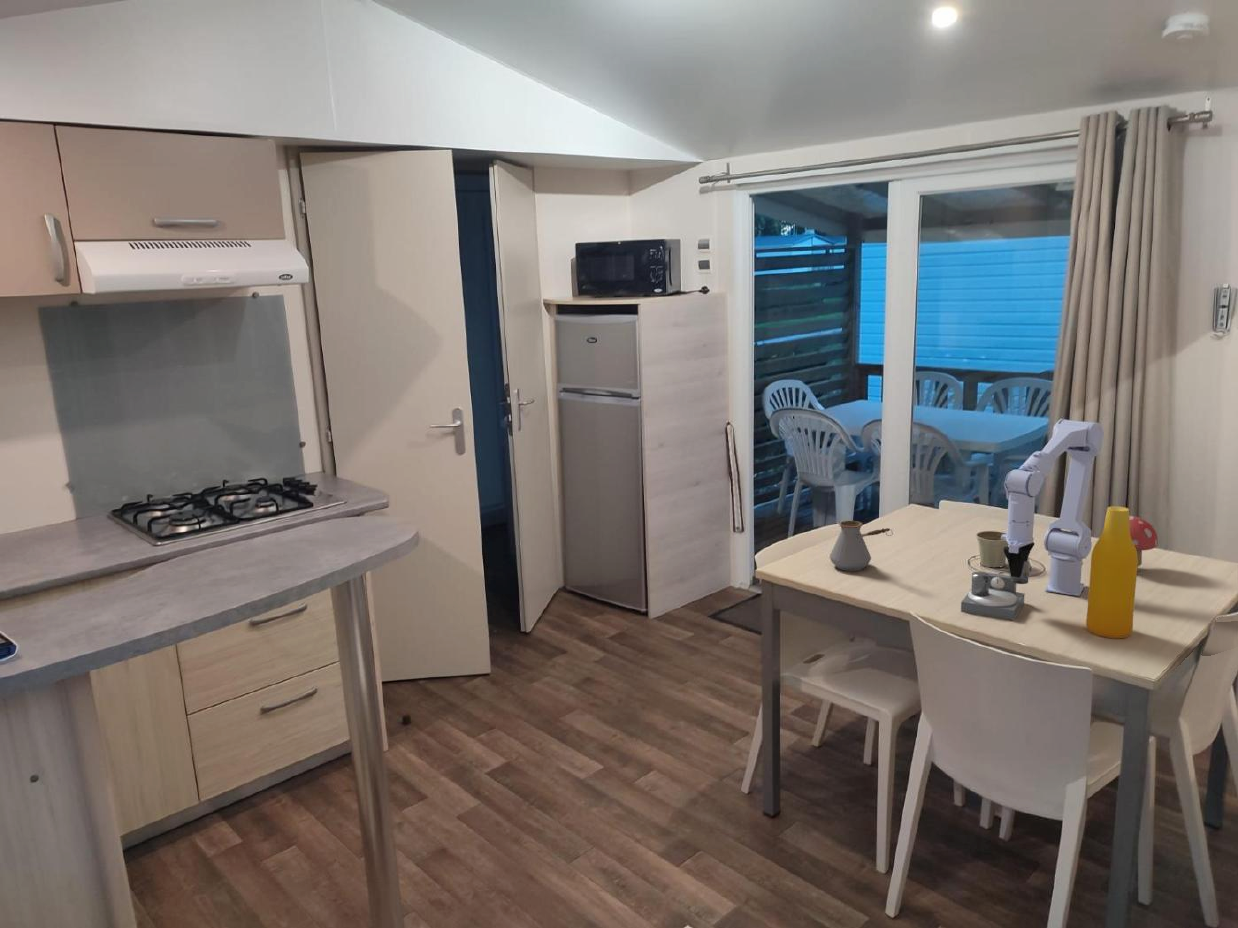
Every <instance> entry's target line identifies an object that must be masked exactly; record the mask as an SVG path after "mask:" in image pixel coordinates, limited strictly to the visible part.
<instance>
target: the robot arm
mask: <svg viewBox="0 0 1238 928" xmlns="http://www.w3.org/2000/svg"><path fill="white" fill-rule="evenodd" d="M1103 440H1104V430H1103V427H1102V425H1101V424H1100V423H1099V422H1090V421H1081V420H1080V421H1079V420H1072V419H1071V420H1070V419H1065V418H1060V419H1059V420H1058V421H1057V422H1056V423H1055V424H1054V426H1053V428H1052V436H1051V438H1050V439H1049V441H1048V442H1047V444H1046V445H1045V446H1044V447H1043V448H1042V450H1040V451H1039V450H1037V451H1035V452H1033V453H1032V454H1031V455H1030V456H1029V457H1028V458H1027V459H1026V460H1025V462H1023V464H1021V465H1020V467H1019V468H1018V469H1016V468H1015V469H1012V470H1011V471H1009V472H1008V473H1007V474H1006V476H1005V478H1004V479H1005V480H1004V482H1003V485H1004V490H1005V492H1006V497H1005V498H1006V500H1008V504H1007V505H1008V506H1007V525H1006V527H1007V528H1006V533H1007V535H1006V534H1003V535H1002V536H1001V539H1005V540H1006V541H1007V542H1008V544H1009V546H1008V547H1004V549H1003V551H1004V553H1005V555H1006V559H1007V564H1008V568H1009V569H1008V570H1009V574H1010V575H1011V576H1012V577H1020V576H1021V574H1022V570H1023V566H1024V562H1025V560H1027V561H1029V556H1030V554H1031V552H1032V549H1033V548H1034V546H1035V542H1034V536H1033V535H1034V524H1035V523H1034V522H1035V521H1034V520H1035V509H1036V507H1035V505H1036V496H1037V495H1039V493H1040V491H1041V490H1042V486H1043V484H1044V480H1045V479H1046V477H1047V476H1048V475H1049V474H1050V473H1051V472H1052V470H1054V468H1055V467H1056V466H1055V465H1056V463H1055V460H1057V458H1059V457H1060V456H1061V455H1062V454H1063V453H1064V452H1066V453H1068V454H1069V456H1070V464H1069V468H1068V473H1067V480H1066V484H1065V489H1064V496H1063V499H1062V500H1063V501H1062V505H1061V511H1060V515H1059V516H1060V517H1059V518H1057V519H1055V520H1053V521H1051V522H1050V523H1049V525H1048V528H1047V531H1046V533H1045V534H1044V537H1043V546H1044V549H1045V551H1047V555H1048V556H1050V563H1049V564H1050V566H1049V580H1048V581H1049V582H1048V583H1047V585H1046V586H1045V588H1044V591H1045V592H1047V593H1048V592H1049V593H1055V594H1062V595H1063V594H1064V595H1069V596H1075V597H1080V596H1081V593H1082V591H1083V589H1084V587H1085V583H1084V582H1081V579H1082V567H1083V560H1084V559H1086V558H1087V557H1088V556H1089V555H1090V553H1091V552H1092V532H1093V531H1092V530H1091V529H1090V528H1089V527H1088V526H1087V524H1086V523H1084V521H1083V517H1084V512H1085V506H1086V502H1087V496H1088V491H1089V486H1090V481H1091V476H1092V475H1091V474H1092V470H1093V465H1094V461H1095V457H1097V456H1099V455H1101V450H1102V446H1103V445H1102V444H1103ZM1010 575H1009V576H1010Z"/></svg>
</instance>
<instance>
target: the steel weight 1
mask: <svg viewBox="0 0 1238 928" xmlns="http://www.w3.org/2000/svg"><path fill="white" fill-rule="evenodd" d="M988 573H989V572H987V573H985V571H975V572H972V573H971V589H970V590H971V594H973V595H975V596H980V597H984V596H988V595H989V576H990V575H989V574H988Z"/></svg>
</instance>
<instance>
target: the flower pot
mask: <svg viewBox="0 0 1238 928" xmlns="http://www.w3.org/2000/svg"><path fill="white" fill-rule="evenodd" d="M1003 534H1006V535H1007V532H1003V531H997V530H984V531H982V530H981V531H979V532H977V533H975V537H976V538H977V539H976V540H977V542H978V549H979V557H980V565H982V566H984V567H985V566H986V567H985V568H991V567H992V568H994V569H996V568H995V567H1000V566H1004V567H1005V565H1006V559H1007V557H1006V555H1005V553H1004V551H1003V549H1004V547H1009V544H1008V542H1007V541H1006V540H1005V539H1001V536H1002V535H1003ZM1000 568H1001V567H1000Z"/></svg>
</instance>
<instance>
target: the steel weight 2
mask: <svg viewBox="0 0 1238 928" xmlns="http://www.w3.org/2000/svg"><path fill="white" fill-rule="evenodd" d="M1030 564H1031V563H1030V561H1029V560H1025V562H1024V566H1023V570H1022V574H1021V576H1020V577H1012V576H1011V575H1009V576H1010V581H1011V582H1013V583H1016V585H1017V584H1018V585H1026V584H1029V579H1030V578H1029V576H1030Z"/></svg>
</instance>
